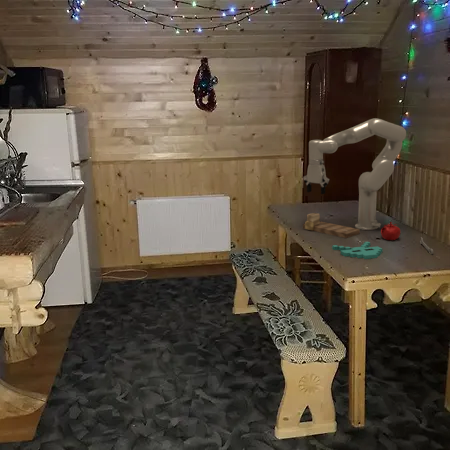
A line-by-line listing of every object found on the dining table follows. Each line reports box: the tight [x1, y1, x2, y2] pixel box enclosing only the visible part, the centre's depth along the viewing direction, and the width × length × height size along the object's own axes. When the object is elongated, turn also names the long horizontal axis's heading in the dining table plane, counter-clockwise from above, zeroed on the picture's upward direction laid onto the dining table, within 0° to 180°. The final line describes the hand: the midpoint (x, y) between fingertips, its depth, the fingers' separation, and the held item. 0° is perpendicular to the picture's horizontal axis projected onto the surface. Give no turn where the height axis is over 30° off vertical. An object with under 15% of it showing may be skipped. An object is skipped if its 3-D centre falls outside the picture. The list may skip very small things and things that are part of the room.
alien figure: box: [331, 241, 384, 260], centre depth 254 cm, size 20×2×20 cm
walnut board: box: [302, 220, 361, 239], centre depth 293 cm, size 30×12×3 cm, turn 41°
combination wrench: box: [419, 237, 434, 255], centre depth 257 cm, size 4×1×20 cm
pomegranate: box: [380, 221, 401, 241], centre depth 275 cm, size 10×10×9 cm
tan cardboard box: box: [304, 212, 321, 231], centre depth 297 cm, size 5×7×8 cm
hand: (316, 192), depth 294 cm, fingers open, 9 cm apart
